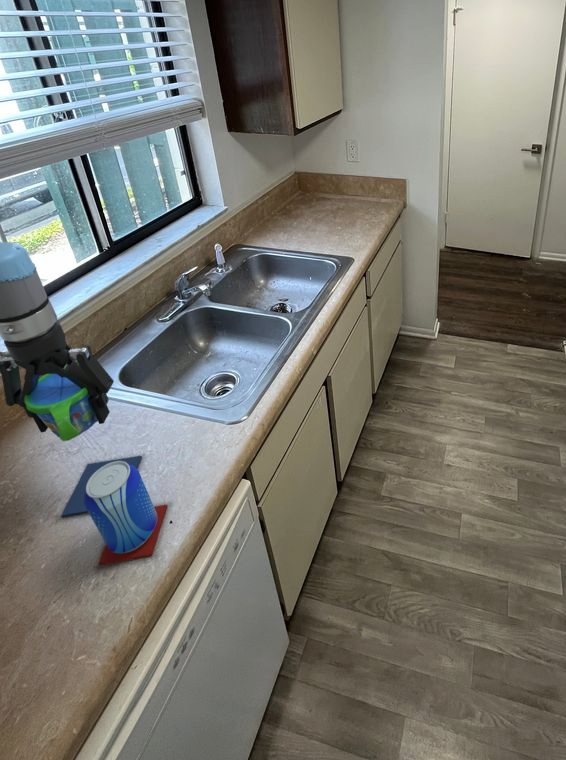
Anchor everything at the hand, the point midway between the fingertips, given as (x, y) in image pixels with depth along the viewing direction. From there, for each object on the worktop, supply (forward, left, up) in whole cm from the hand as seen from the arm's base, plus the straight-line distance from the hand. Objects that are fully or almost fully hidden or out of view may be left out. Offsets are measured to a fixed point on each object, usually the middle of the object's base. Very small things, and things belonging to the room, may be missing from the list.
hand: (76, 421), depth 83 cm
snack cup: (0, 0, -1) cm, 1 cm away
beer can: (+10, -11, -19) cm, 24 cm away
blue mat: (0, 0, -19) cm, 19 cm away
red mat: (+10, -11, -19) cm, 24 cm away
